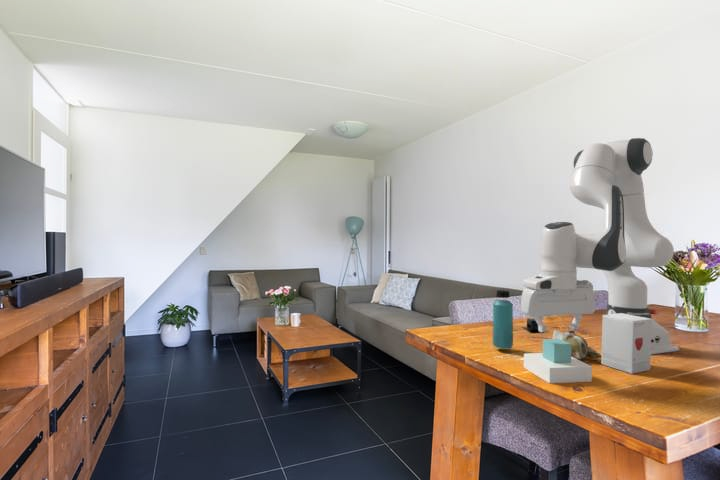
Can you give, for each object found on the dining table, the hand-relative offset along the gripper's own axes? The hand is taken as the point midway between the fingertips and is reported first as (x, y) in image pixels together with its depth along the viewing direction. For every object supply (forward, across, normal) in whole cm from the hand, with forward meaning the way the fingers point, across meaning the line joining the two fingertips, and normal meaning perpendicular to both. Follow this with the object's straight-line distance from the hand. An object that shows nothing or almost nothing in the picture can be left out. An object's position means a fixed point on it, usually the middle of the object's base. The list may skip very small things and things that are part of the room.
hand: (558, 330), depth 104 cm
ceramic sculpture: (+13, -14, -13) cm, 23 cm away
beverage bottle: (+12, +5, -22) cm, 25 cm away
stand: (+12, +1, 0) cm, 12 cm away
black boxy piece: (+14, -22, -47) cm, 53 cm away
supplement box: (+13, -23, -3) cm, 27 cm away
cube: (+8, +1, 0) cm, 8 cm away
